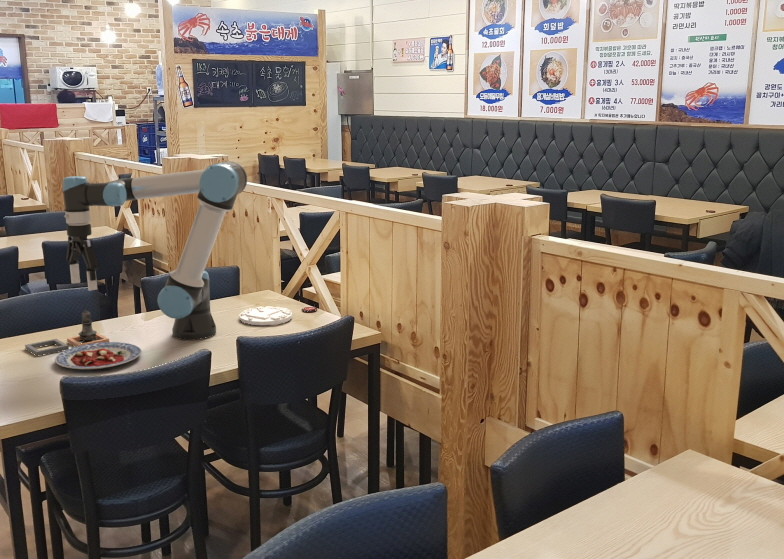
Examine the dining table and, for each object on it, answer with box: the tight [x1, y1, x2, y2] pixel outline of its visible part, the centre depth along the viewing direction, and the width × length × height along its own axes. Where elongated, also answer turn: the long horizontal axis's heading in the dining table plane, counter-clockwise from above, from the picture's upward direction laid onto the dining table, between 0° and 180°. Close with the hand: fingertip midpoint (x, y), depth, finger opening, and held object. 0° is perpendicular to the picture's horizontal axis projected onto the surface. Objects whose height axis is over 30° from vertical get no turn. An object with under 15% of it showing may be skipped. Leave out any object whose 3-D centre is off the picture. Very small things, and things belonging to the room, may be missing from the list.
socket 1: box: [24, 338, 70, 357], centre depth 253 cm, size 10×10×2 cm
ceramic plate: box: [54, 341, 142, 370], centre depth 243 cm, size 26×26×3 cm
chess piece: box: [78, 308, 98, 343], centre depth 259 cm, size 6×6×12 cm
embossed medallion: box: [238, 305, 293, 326], centre depth 291 cm, size 20×20×3 cm
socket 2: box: [66, 332, 110, 347], centre depth 260 cm, size 10×10×2 cm
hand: (84, 286), depth 256 cm, fingers open, 13 cm apart
